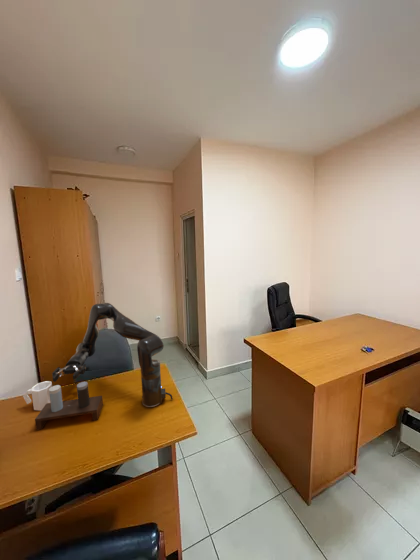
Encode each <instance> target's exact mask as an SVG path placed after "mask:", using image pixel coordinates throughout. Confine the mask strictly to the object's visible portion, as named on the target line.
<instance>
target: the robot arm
mask: <svg viewBox="0 0 420 560" xmlns="http://www.w3.org/2000/svg"><path fill="white" fill-rule="evenodd" d="M106 319H109V320H111V321H112V322H113V323H112V325H113V326H112V327H113V329H114V331H115V332H116V333H117V334H118V335H120V336H121V337H122V338H125V339H128V340H134V341H138V342H137V345H136V346H137V347H136V348H137V349H136V351H137V358H138V359H137V360H138V366H139V367H140V381H141V399H142V406H144V407H146V408H148V409H149V408H156V407H158V406H159V405H162V404H163V399H166V398H167V395H168V396H169V397H170V400H173V398H174V397H173V395H172V394H171V393H170V392H166V387H165V388H162V387H163V386H162V376H161V374H162V373H161V362H160V360H158V359H155V358H153V356H156V355H157V354H159V353H161V352H162V351H163V350H164V341H163V340H162V338H161V337H160V336H158V334H155V333H154V332H152V331H150V330H148V329H146V328H144V327H143V326H141V325H139V324H138V323H136V322H135V321H134V320H133V319H131V318H129V317H128V316H126V315H125V314H123V312H120V311H119V310H118V309H117V308H116V307H115V306H114V305H113V304H111V303H110V302H102V303H101V302H100V303H95V304H93V305H92V306H91V308H90V310H89V315H88V322H87V329H86V331H85V334H84V336H83V341H82V342H80V343H78V345H77V347H76V349H75V353H74V354H73V355H72V356H71V357H70V358H69V360H68V361H67V362H66V364H65V366H64V367H62V368H61V367H60V366H58V367H56V368H55V369H54V371H52V372H51V375H52V382H53V383H56V382H57V381H58V379H59V378H61V377H65V376H67V375H72V374H73V375H72V379H73V380H76V379H77V378H78V377H79V376H80V375H84V374H85V372H86V371H87V364H85V363H86V361H87V359H88V358H90V357H93V356H94V355H95V352H96V348H97V347H96V344H97V340H98V338H99V334H100V330H99V328H98V326H97V323H98V321H101V320H106Z"/></svg>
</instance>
